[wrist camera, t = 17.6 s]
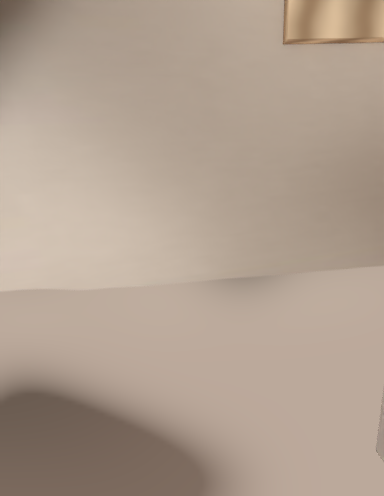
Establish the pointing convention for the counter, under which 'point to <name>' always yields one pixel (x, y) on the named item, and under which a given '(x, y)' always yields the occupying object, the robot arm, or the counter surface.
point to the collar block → (333, 21)
